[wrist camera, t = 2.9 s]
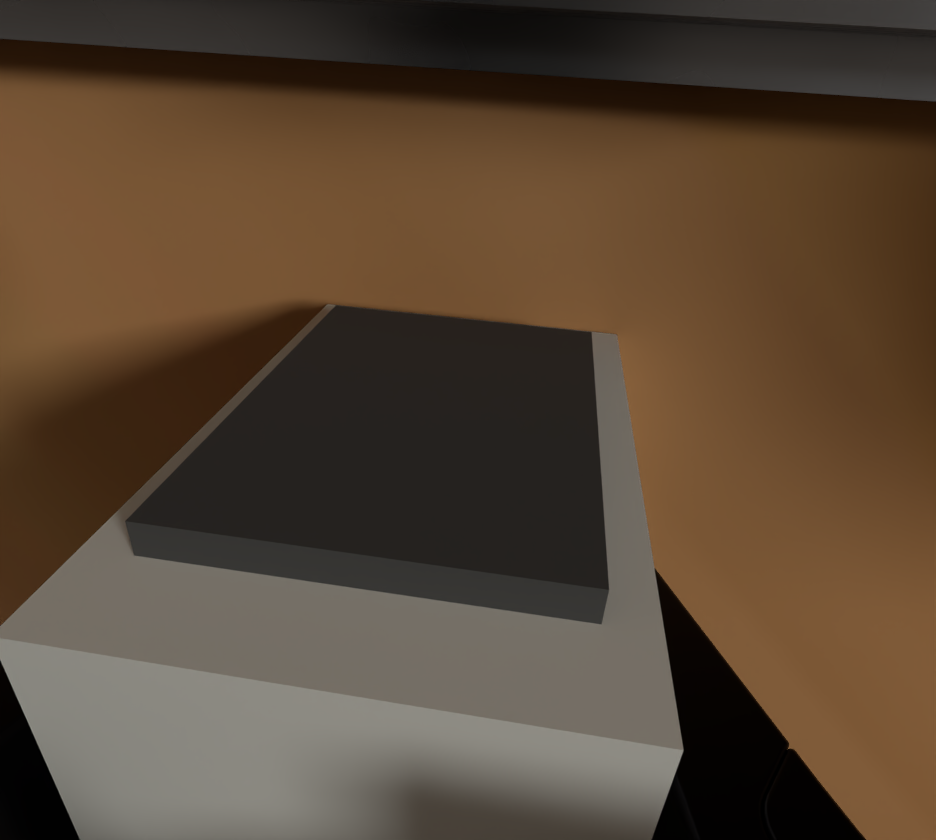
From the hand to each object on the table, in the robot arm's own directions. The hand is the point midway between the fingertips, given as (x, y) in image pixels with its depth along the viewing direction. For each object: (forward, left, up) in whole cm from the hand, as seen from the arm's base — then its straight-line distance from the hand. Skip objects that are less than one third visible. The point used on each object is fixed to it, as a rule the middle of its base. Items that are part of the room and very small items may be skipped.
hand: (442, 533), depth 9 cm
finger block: (0, 0, -2) cm, 2 cm away
